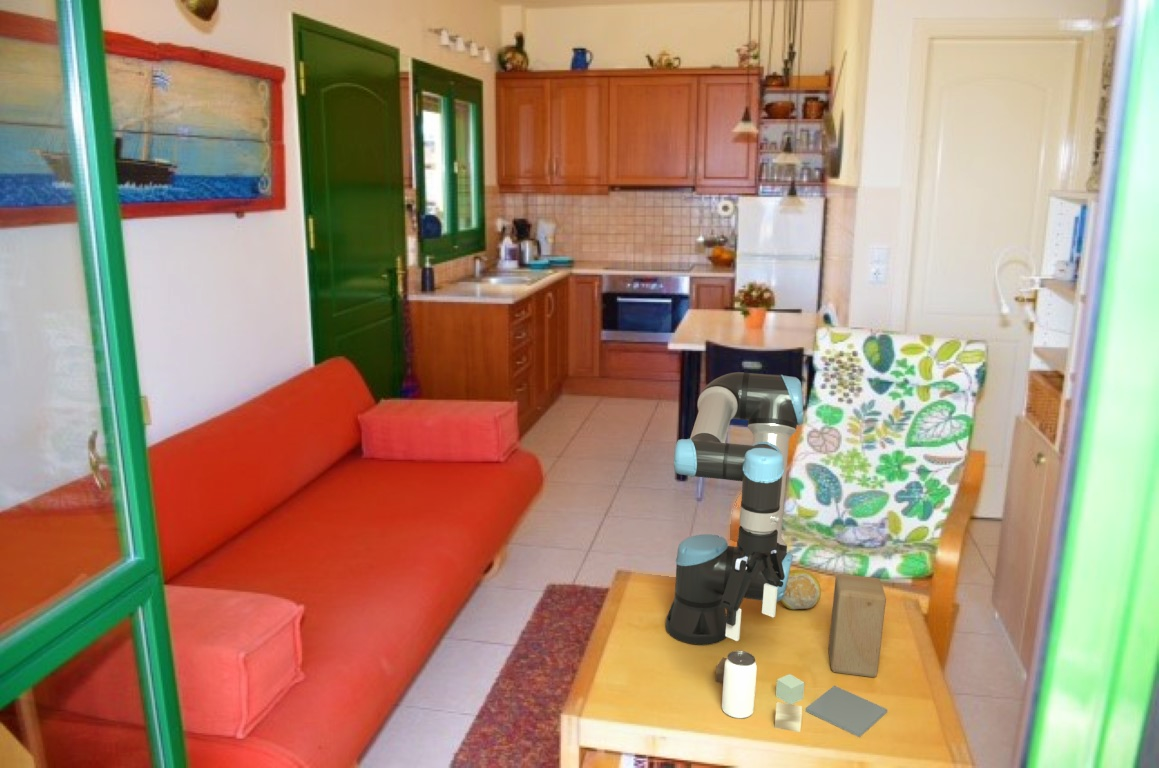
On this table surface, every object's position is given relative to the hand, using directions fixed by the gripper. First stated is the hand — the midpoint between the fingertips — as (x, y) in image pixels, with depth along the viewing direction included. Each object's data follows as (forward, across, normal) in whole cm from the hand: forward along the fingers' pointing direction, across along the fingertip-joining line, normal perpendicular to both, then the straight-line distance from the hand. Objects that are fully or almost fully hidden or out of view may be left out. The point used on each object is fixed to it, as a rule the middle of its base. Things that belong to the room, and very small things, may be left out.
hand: (750, 626), depth 177 cm
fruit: (+19, +48, +15) cm, 54 cm away
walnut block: (+19, +7, +9) cm, 22 cm away
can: (+19, -1, +1) cm, 19 cm away
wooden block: (+19, +33, -8) cm, 39 cm away
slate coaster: (+19, +14, -15) cm, 28 cm away
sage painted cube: (+19, +11, -4) cm, 22 cm away
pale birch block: (+19, +2, -9) cm, 21 cm away
